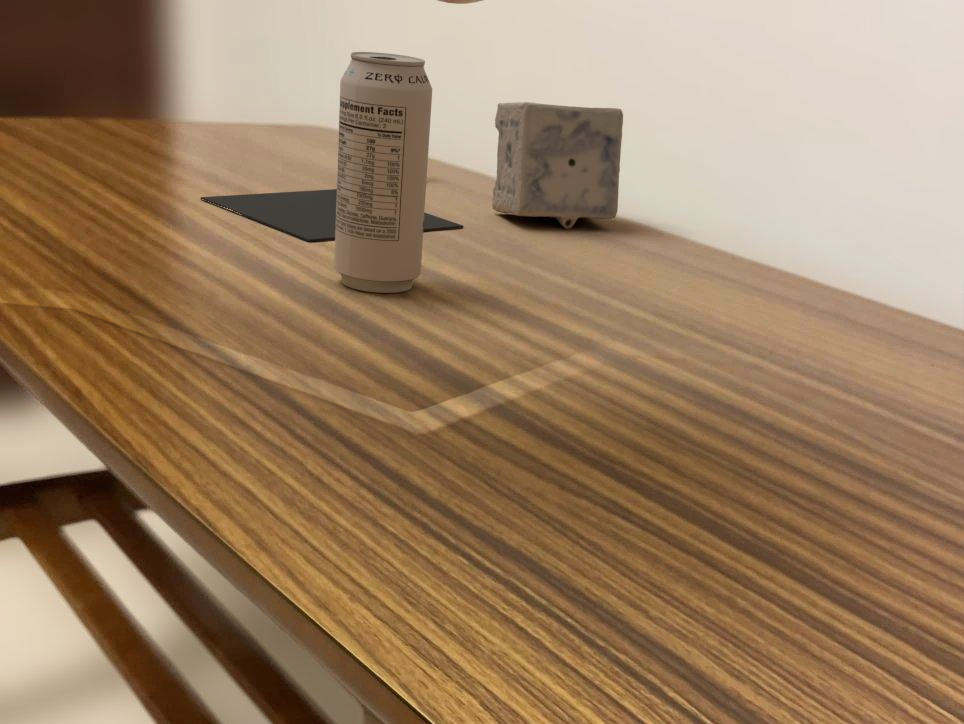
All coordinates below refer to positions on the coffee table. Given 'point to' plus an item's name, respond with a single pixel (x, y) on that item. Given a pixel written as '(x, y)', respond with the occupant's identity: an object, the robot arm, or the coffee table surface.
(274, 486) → the coffee table surface
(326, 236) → the mat
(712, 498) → the coffee table surface
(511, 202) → the incense holder
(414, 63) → the energy drink can
